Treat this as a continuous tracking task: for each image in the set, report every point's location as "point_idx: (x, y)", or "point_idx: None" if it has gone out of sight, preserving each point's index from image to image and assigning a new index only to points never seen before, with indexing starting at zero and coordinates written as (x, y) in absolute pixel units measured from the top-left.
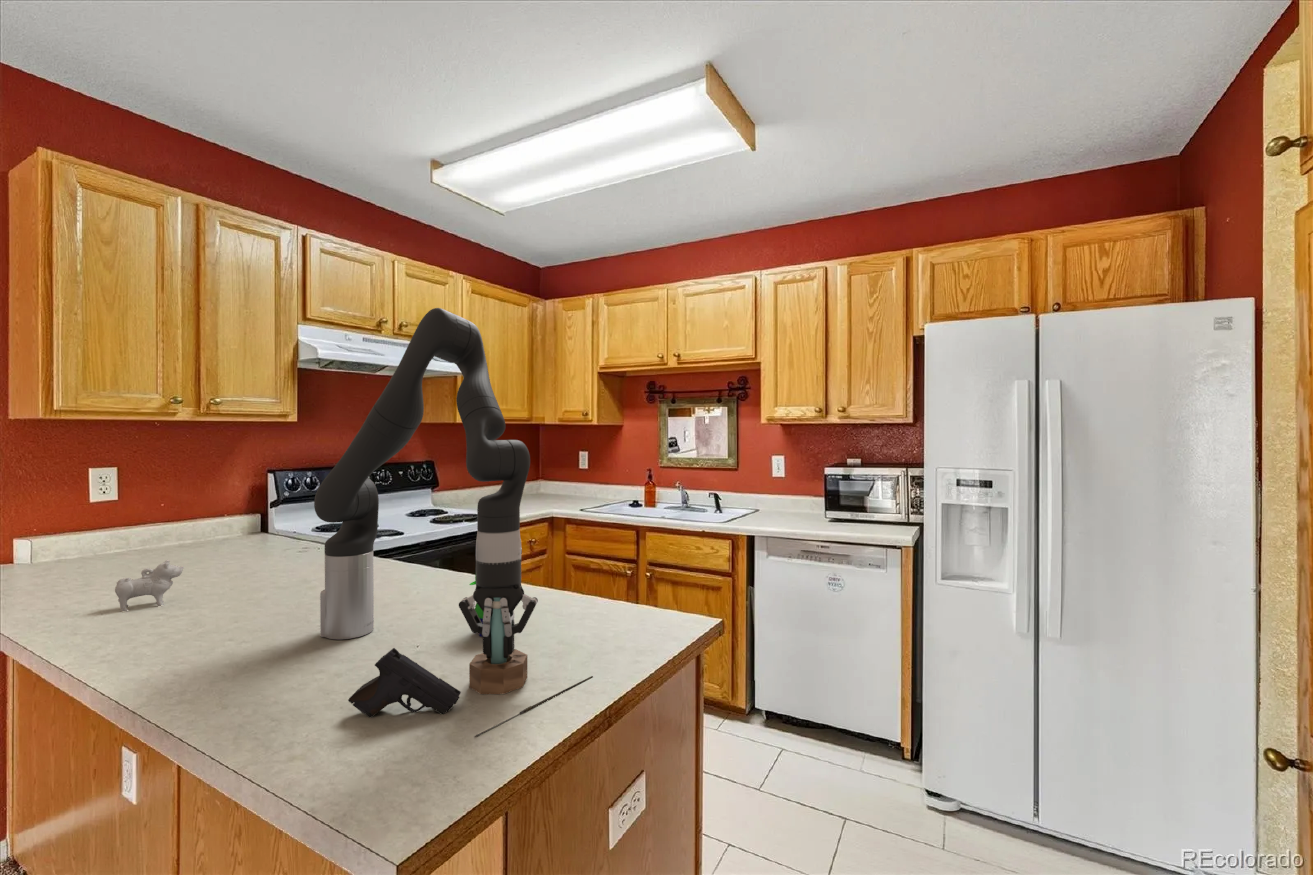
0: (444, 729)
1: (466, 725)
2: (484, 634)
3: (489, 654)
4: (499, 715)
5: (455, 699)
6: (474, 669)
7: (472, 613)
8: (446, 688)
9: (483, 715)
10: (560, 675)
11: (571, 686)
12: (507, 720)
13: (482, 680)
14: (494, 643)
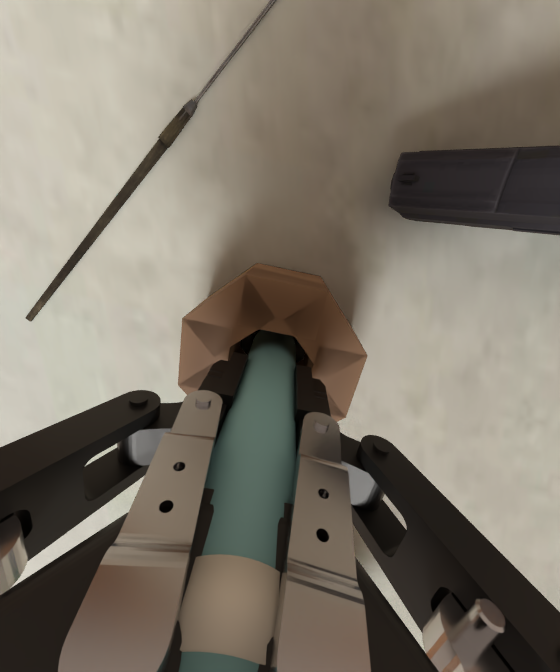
0: (431, 35)
1: (360, 52)
2: (326, 419)
3: (299, 369)
4: (258, 111)
5: (408, 152)
6: (348, 324)
7: (428, 560)
8: (459, 158)
9: (308, 123)
10: (116, 346)
11: (70, 266)
12: (229, 56)
13: (318, 283)
14: (278, 385)
